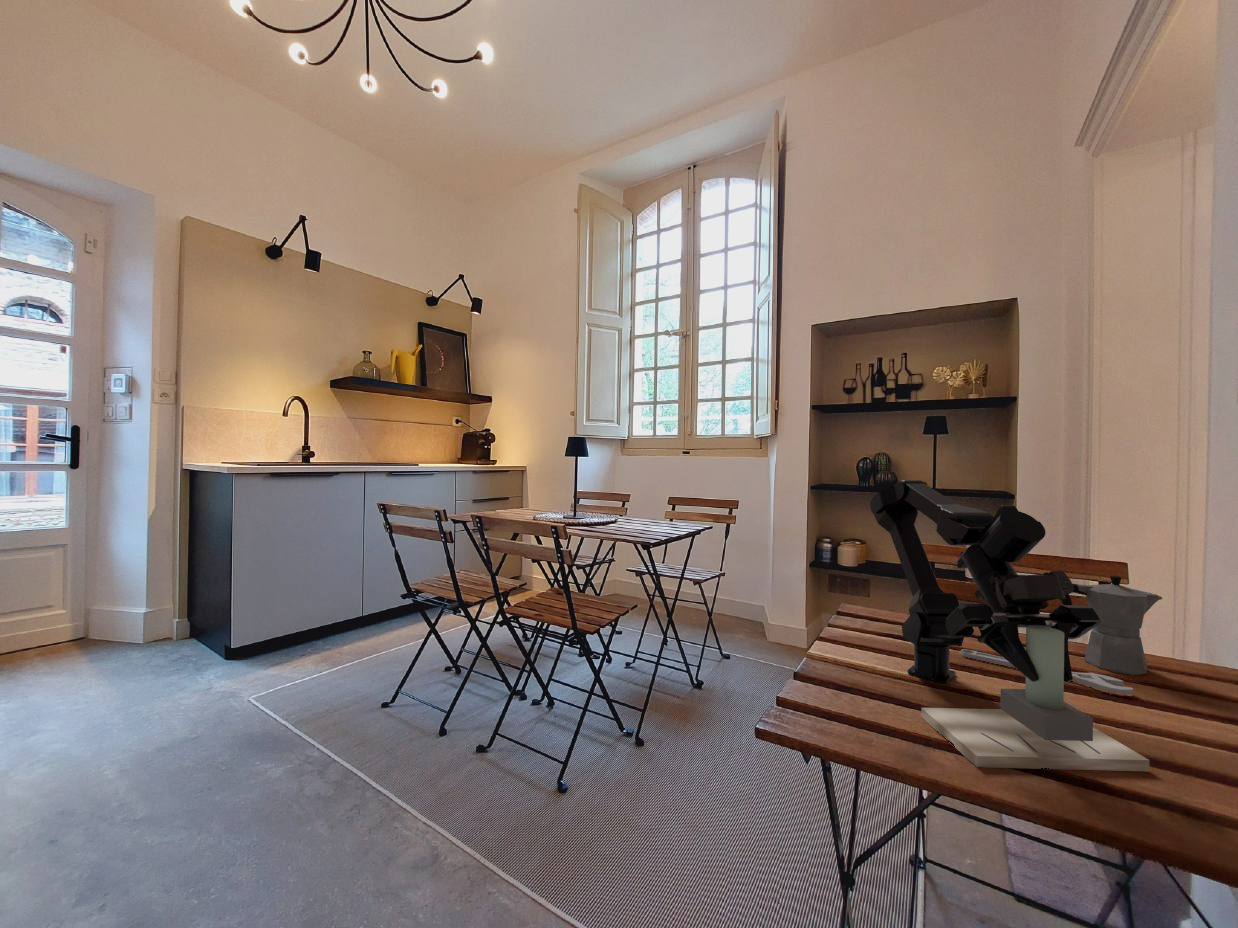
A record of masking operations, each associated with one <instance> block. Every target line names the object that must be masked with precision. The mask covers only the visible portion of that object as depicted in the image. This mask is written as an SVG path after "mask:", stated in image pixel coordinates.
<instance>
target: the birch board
mask: <svg viewBox="0 0 1238 928" xmlns="http://www.w3.org/2000/svg"><path fill="white" fill-rule="evenodd" d="M920 712H921V718H922V719H923V721H925V723H927V724H928V725H930V727H932V729H934V730H935V731H936V732H937V731H938V732H939V733H938V732H937V733H938V734H939V735H941V734H942V735H943V736H944V737H946V738H947V739H948V740H950V741H951V742H952V743H953V744H954V746H955V747H954V746H953V747H954V748H955V749H956V750H957V751H959V753H961V754H962V756H964V757H965V758H966V759H967V760H969V761H970V762H971V763H972V764H973V765H974V766H975V767H976V768H995V769H996V768H997V769H998V768H1000V769H1032V770H1033V769H1034V770H1035V769H1036V770H1037V769H1038V770H1041V768H1043V769H1042V770H1045V769H1044V768H1047V769H1046V770H1074V771H1076V770H1077V771H1079V770H1080V771H1108V772H1109V771H1113V772H1146V773H1147V772H1150V759H1148V758H1146V757H1145V756H1144V755H1141V754H1140V753H1138V752H1136V751H1135V750H1133V749H1131V748H1129V747H1128V746H1126V745H1124V744H1122V743H1121V742H1119V741H1117V740H1116V739H1114V738H1112V737H1110V736H1109V735H1107V734H1106V733H1103V732H1102V731H1101V730H1099V729H1096V728H1095V727H1093V741H1069V740H1044V739H1043V738H1041V737H1040V736H1039V735H1037V734H1036V733H1034V732H1033V731H1031V730H1030V729H1028V728H1027V727H1026V726H1024V725H1023V724H1021V723H1020V722H1018V721H1017V720H1015V719H1014V718H1013V717H1011V716H1010V715H1008V714H1007V713H1005V712H1004V711H1002V710H1001V709H999V708H998V709H997V708H996V709H994V708H954V707H953V708H952V707H951V708H950V707H946V708H945V707H921V711H920ZM942 735H941V736H942ZM943 736H942V737H943ZM944 737H943V738H944ZM1048 768H1049V769H1048Z"/></svg>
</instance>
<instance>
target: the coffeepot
mask: <svg viewBox="0 0 1238 928" xmlns="http://www.w3.org/2000/svg"><path fill="white" fill-rule="evenodd" d="M1110 580H1111V581H1110V582H1111V583H1110V584H1109V583H1108V584H1106V583H1105V584H1102V583H1101V584H1077V583H1072V585H1073V588H1074V590H1073V593H1072V594H1078V595H1083V596H1085V597H1086V598H1085V599H1086V602H1087V603H1086V604H1087V606H1088V607H1091V608H1093V609H1094V611H1095V612H1096V614H1097V615H1098V616H1099V618H1100V619H1101V621H1102V623H1100V624H1099V625H1097V626H1096V627H1094V628H1093V629H1091V630H1090V634H1089V639H1088V643H1087V647H1086V651H1085V656H1084V661H1086V662H1087V663H1088V664H1090V665H1092V666H1094V667H1097V668H1099V669H1102V670H1106V671H1109V672H1114V673H1118V674H1125V675H1130V676H1131V675H1134V676H1142V675H1146V674H1147V671H1148V665H1147V661H1146V654H1145V652H1144V646H1143V642H1142V638H1141V633H1140V631H1141V630H1140V629H1141V628H1143V627H1142V626H1143V622H1144V617H1145V615H1146V613H1147V612H1148V611H1149V610H1150V609H1151V608H1152V607H1153V606H1154V605H1155V604H1156V603H1157V602H1158V601H1160V600H1163V597H1162V596H1161V595H1158V594H1155V593H1151V592H1147V591H1143V590H1139V589H1134V588H1131V587H1128V586H1124V585H1120V583H1121V580H1122V576H1119V575H1110ZM1060 602H1061V605H1073V604H1072V599H1071V596H1070V594H1065V599H1062V600H1060Z"/></svg>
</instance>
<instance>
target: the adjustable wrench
mask: <svg viewBox="0 0 1238 928" xmlns="http://www.w3.org/2000/svg"><path fill="white" fill-rule="evenodd" d="M961 655H962V656H965V657H968V658H967V659H969V658H973V659H979V660H982V661H988V662H992V663H994V664H993V665H995V664H1000V665H1006V666H1009V667H1014V666H1013V665H1012V664H1011V663H1010V662H1009V661H1007V660H1006V659H1005V658H1004V657H1002V656H1001V655H1000V656H999V655H994V654H990V653H985V652H979V651H976V650H970V649H966V648H965V649H964V648H963V649H961V650H960V656H961ZM962 656H961V657H962ZM965 657H964V658H965ZM973 659H972V660H973ZM982 661H981V662H982ZM1000 665H999V666H1000ZM1009 667H1008V668H1009ZM1014 668H1016V667H1014ZM1072 677H1073V680H1072V681H1076V682H1080V683H1082V684H1086V685H1089V686H1091V687H1095V688H1099V689H1101V690H1105V691H1109V692H1112V693H1119V694H1133V695H1134V688H1133V687H1126V686H1124V680H1121V679H1119V678H1116V677H1112V676H1108V675H1104V674H1100V673H1095V672H1078V671H1077V672H1076V671H1072Z"/></svg>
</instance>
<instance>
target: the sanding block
mask: <svg viewBox="0 0 1238 928" xmlns="http://www.w3.org/2000/svg"><path fill="white" fill-rule="evenodd" d="M1025 650H1026V652H1027V654H1028V656H1029V658H1030V660H1031V661H1032V663H1033V665H1034V667H1035V669H1036V672H1037V674H1038V677H1039V680H1037V681H1036V682H1032V681H1031V680H1030V679H1029V678H1027V677H1026V676H1025V685H1024V686H1025V689H1024V688H1000V709H1001V710H1002V711H1004V712H1005V713H1007V714H1008V715H1010V716H1011V717H1013V718H1014V719H1015V720H1017V721H1018V722H1020V723H1021V724H1023V725H1024V726H1026V727H1027V728H1028V729H1030V730H1031V731H1033V732H1034V733H1036V734H1037V735H1039V736H1040V737H1041V738H1043V739H1044V740H1069V741H1093V728H1094V718H1093V717H1092V716H1090V715H1088V714H1087V713H1085V712H1083V711H1082V710H1080V709H1079V708H1076V707H1075V706H1073V705H1071V704H1069V703H1067V702H1065V701H1064V698H1065V697H1064V696H1065V695H1064V694H1065V691H1064V690H1065V689H1064V688H1065V686H1064V685H1065V681H1064V632H1062V631H1060V630H1057V629H1054V628H1050V627H1045V626H1036V625H1030V626H1026V628H1025Z"/></svg>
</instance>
